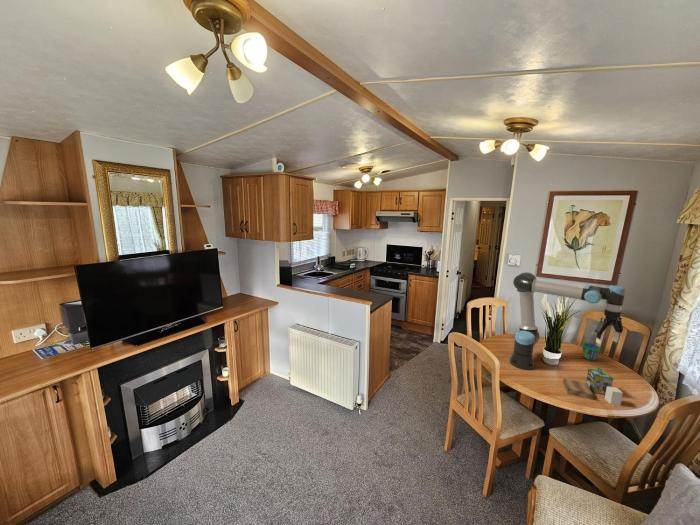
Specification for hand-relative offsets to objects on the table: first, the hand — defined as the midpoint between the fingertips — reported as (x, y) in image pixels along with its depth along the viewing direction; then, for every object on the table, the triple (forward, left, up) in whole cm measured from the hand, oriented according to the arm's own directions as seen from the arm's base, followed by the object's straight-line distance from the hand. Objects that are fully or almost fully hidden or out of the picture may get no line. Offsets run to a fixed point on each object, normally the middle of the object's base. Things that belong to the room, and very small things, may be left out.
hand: (606, 342), depth 183 cm
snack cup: (+3, +35, -27) cm, 44 cm away
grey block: (0, -24, -27) cm, 36 cm away
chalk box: (-4, -13, -27) cm, 31 cm away
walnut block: (-16, -21, -27) cm, 38 cm away
